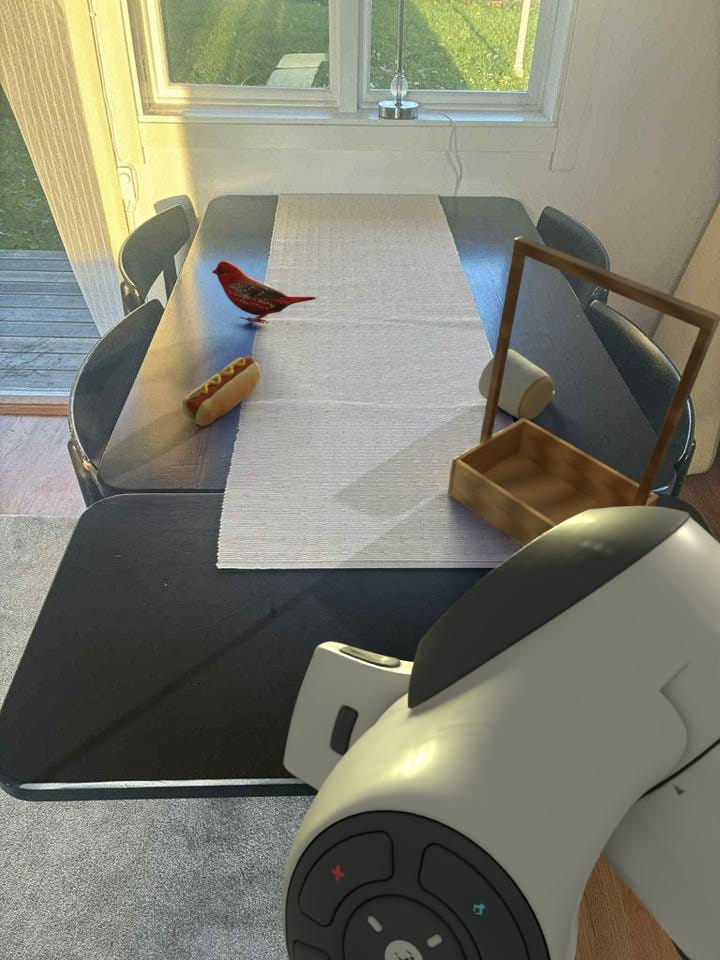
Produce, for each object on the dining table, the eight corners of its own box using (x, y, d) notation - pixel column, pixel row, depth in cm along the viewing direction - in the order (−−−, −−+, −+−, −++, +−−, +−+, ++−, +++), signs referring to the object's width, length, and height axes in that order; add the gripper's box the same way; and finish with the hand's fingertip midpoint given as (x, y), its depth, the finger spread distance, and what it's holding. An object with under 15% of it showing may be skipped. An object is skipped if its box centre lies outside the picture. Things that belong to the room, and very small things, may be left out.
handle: (623, 560, 78) (722, 315, 58) (617, 565, 77) (715, 319, 58) (480, 465, 90) (521, 236, 70) (474, 469, 89) (514, 238, 69)
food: (237, 376, 104) (234, 346, 101) (268, 386, 102) (266, 357, 99) (176, 424, 95) (171, 393, 91) (209, 437, 93) (204, 406, 89)
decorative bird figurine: (220, 312, 119) (213, 255, 112) (319, 328, 115) (318, 271, 109) (213, 320, 117) (206, 262, 110) (314, 336, 113) (312, 278, 107)
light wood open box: (645, 530, 81) (659, 496, 78) (577, 586, 75) (590, 551, 71) (516, 451, 92) (523, 417, 89) (447, 493, 85) (452, 459, 82)
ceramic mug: (517, 431, 95) (528, 383, 90) (473, 403, 100) (482, 356, 95) (565, 405, 101) (578, 358, 96) (522, 380, 105) (532, 334, 100)
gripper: (726, 788, 29) (666, 717, 43) (289, 632, 35) (357, 612, 48) (686, 935, 29) (639, 817, 43) (252, 755, 35) (331, 700, 48)
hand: (487, 707), depth 45 cm, fingers open, 8 cm apart
